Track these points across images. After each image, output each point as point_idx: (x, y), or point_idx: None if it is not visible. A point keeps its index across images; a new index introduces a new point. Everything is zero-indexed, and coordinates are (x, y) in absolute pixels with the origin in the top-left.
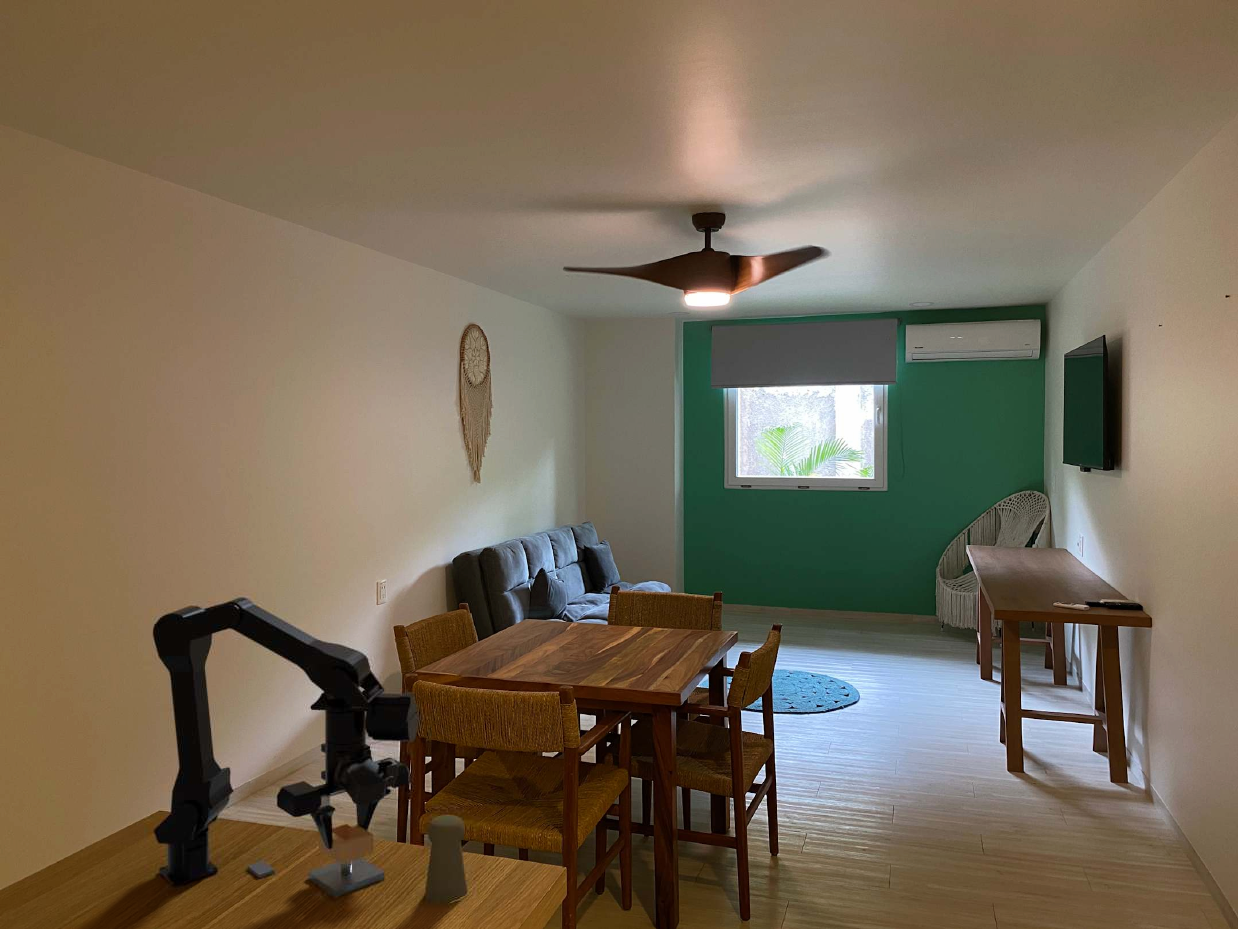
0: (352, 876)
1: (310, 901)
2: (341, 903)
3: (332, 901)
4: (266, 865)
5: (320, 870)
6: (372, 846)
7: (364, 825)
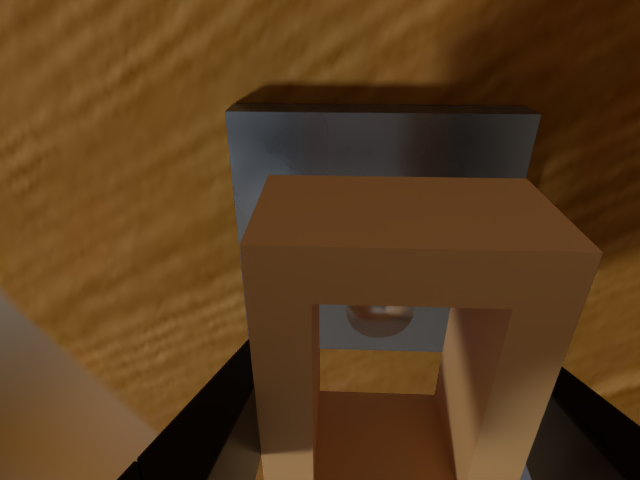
0: None
1: (616, 161)
2: (546, 23)
3: (557, 81)
4: (523, 472)
5: (444, 330)
6: (267, 197)
7: (243, 404)
